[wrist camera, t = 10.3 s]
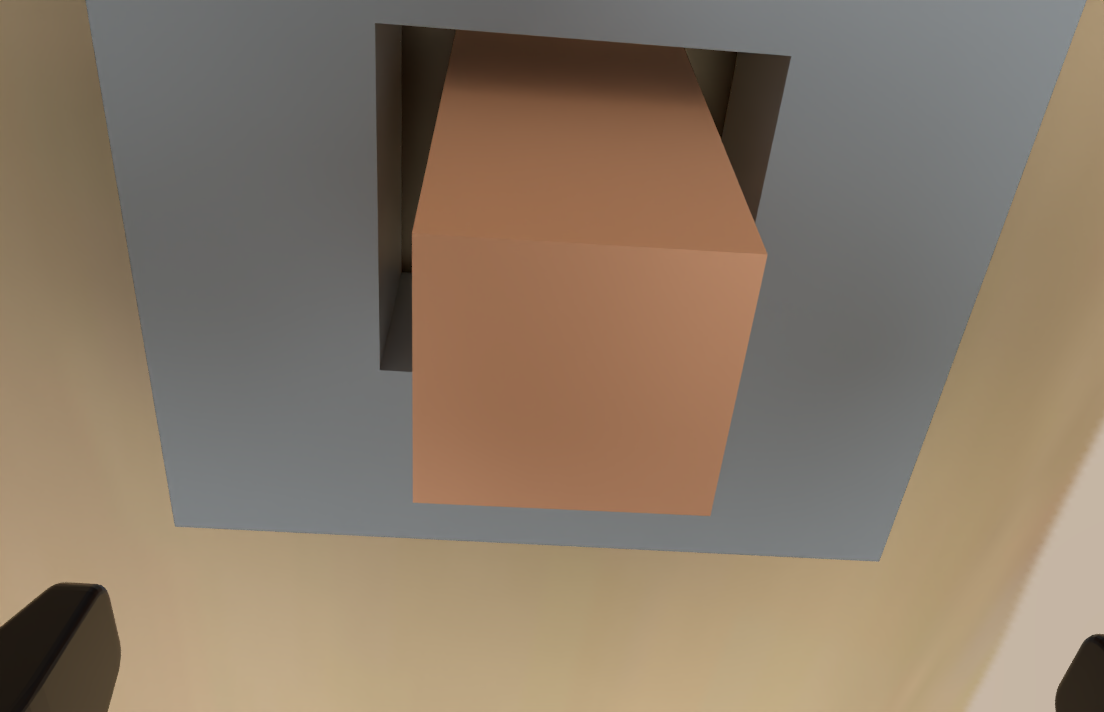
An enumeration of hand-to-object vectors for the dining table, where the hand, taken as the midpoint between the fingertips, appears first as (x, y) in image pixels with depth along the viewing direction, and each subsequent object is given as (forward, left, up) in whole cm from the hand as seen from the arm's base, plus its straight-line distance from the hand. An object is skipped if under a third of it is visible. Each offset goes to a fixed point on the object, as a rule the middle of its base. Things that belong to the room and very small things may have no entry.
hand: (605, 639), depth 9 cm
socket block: (0, 0, -12) cm, 12 cm away
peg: (0, 0, -12) cm, 12 cm away
